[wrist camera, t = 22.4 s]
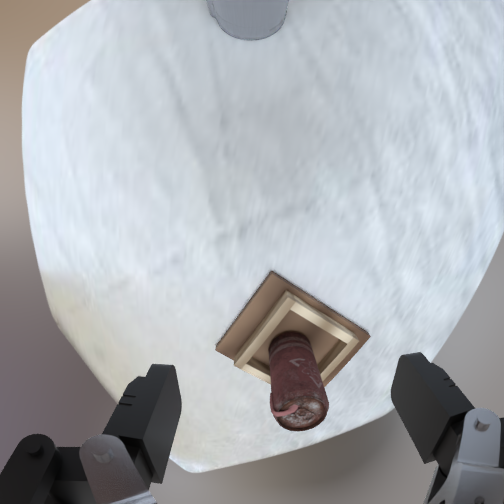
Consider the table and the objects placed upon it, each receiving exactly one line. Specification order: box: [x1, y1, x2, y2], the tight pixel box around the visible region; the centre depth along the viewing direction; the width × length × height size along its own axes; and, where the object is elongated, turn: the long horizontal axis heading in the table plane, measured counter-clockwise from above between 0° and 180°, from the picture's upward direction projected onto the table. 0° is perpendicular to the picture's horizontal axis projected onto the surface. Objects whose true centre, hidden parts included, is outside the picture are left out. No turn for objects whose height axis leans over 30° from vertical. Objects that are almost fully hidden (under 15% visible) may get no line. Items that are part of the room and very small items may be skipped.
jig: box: [215, 271, 371, 387], centre depth 41 cm, size 18×14×4 cm
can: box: [268, 332, 329, 431], centre depth 35 cm, size 6×6×14 cm
